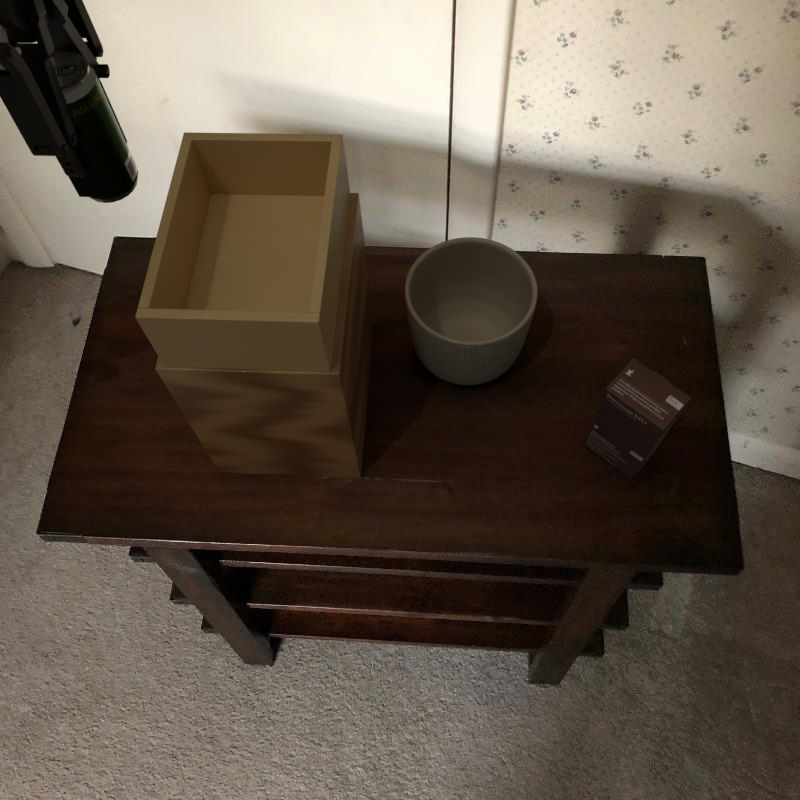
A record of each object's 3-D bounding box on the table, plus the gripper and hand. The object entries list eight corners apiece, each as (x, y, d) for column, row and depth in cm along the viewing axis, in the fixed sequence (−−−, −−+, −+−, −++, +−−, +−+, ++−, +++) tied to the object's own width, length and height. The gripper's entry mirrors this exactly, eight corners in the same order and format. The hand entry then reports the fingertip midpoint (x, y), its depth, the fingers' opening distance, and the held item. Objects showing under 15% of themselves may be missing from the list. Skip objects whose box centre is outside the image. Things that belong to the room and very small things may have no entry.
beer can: (138, 157, 72) (89, 43, 61) (143, 198, 69) (93, 87, 58) (80, 168, 71) (21, 55, 61) (83, 210, 69) (21, 101, 58)
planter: (519, 408, 77) (532, 351, 68) (399, 393, 79) (395, 336, 69) (529, 308, 83) (542, 243, 74) (416, 296, 84) (415, 230, 75)
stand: (219, 472, 75) (154, 369, 58) (246, 320, 84) (197, 189, 66) (360, 478, 74) (339, 374, 57) (373, 324, 83) (358, 192, 65)
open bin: (164, 367, 58) (134, 317, 52) (205, 191, 66) (183, 131, 60) (330, 372, 57) (318, 322, 51) (350, 194, 65) (342, 133, 59)
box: (579, 446, 75) (603, 387, 65) (606, 416, 77) (635, 353, 66) (630, 485, 73) (664, 430, 62) (657, 453, 75) (695, 394, 64)
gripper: (-20, -15, 43) (121, 250, 64) (65, -182, 52) (165, 98, 73) (-147, -17, 44) (34, 247, 64) (-41, -182, 53) (88, 97, 73)
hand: (103, 168), depth 68 cm, fingers closed on beer can, 5 cm apart
